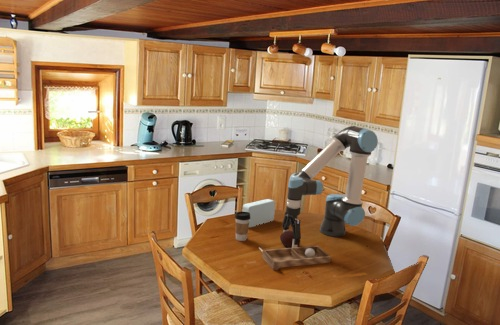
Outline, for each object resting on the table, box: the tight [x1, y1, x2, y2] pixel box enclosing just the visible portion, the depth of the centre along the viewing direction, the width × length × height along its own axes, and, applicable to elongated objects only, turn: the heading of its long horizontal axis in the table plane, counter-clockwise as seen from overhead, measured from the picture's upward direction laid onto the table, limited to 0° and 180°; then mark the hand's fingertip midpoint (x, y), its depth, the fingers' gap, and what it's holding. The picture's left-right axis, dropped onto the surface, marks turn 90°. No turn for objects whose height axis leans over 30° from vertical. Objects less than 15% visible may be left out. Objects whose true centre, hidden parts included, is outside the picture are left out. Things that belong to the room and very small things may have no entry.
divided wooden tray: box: [261, 245, 332, 271], centre depth 221 cm, size 31×14×4 cm, turn 110°
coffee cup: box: [234, 211, 250, 242], centre depth 243 cm, size 8×8×15 cm
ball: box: [305, 248, 315, 258], centre depth 224 cm, size 5×5×5 cm
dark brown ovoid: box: [279, 230, 301, 248], centre depth 237 cm, size 9×12×9 cm
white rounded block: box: [241, 198, 276, 229], centre depth 270 cm, size 23×6×13 cm, turn 135°
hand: (289, 245), depth 238 cm, fingers closed on dark brown ovoid, 11 cm apart
